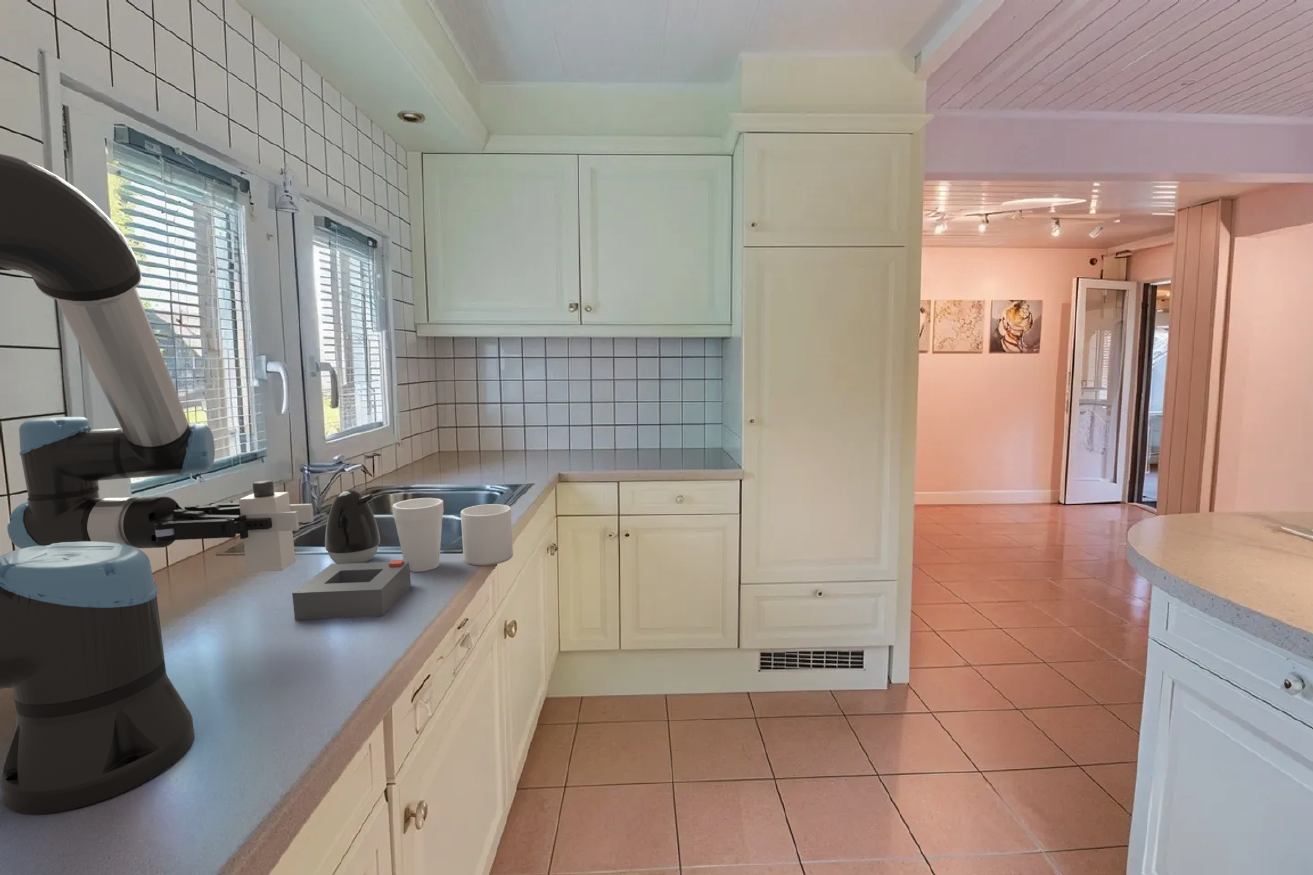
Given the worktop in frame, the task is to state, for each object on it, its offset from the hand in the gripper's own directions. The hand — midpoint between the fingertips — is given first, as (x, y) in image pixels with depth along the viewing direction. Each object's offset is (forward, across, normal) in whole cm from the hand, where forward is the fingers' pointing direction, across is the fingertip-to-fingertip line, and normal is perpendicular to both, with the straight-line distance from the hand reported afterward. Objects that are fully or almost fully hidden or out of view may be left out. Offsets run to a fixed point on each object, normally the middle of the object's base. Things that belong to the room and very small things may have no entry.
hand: (304, 516), depth 95 cm
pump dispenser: (-7, -35, -19) cm, 40 cm away
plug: (-5, 0, -8) cm, 9 cm away
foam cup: (+8, -30, -19) cm, 36 cm away
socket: (+1, -13, -18) cm, 22 cm away
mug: (+20, -35, -19) cm, 44 cm away
